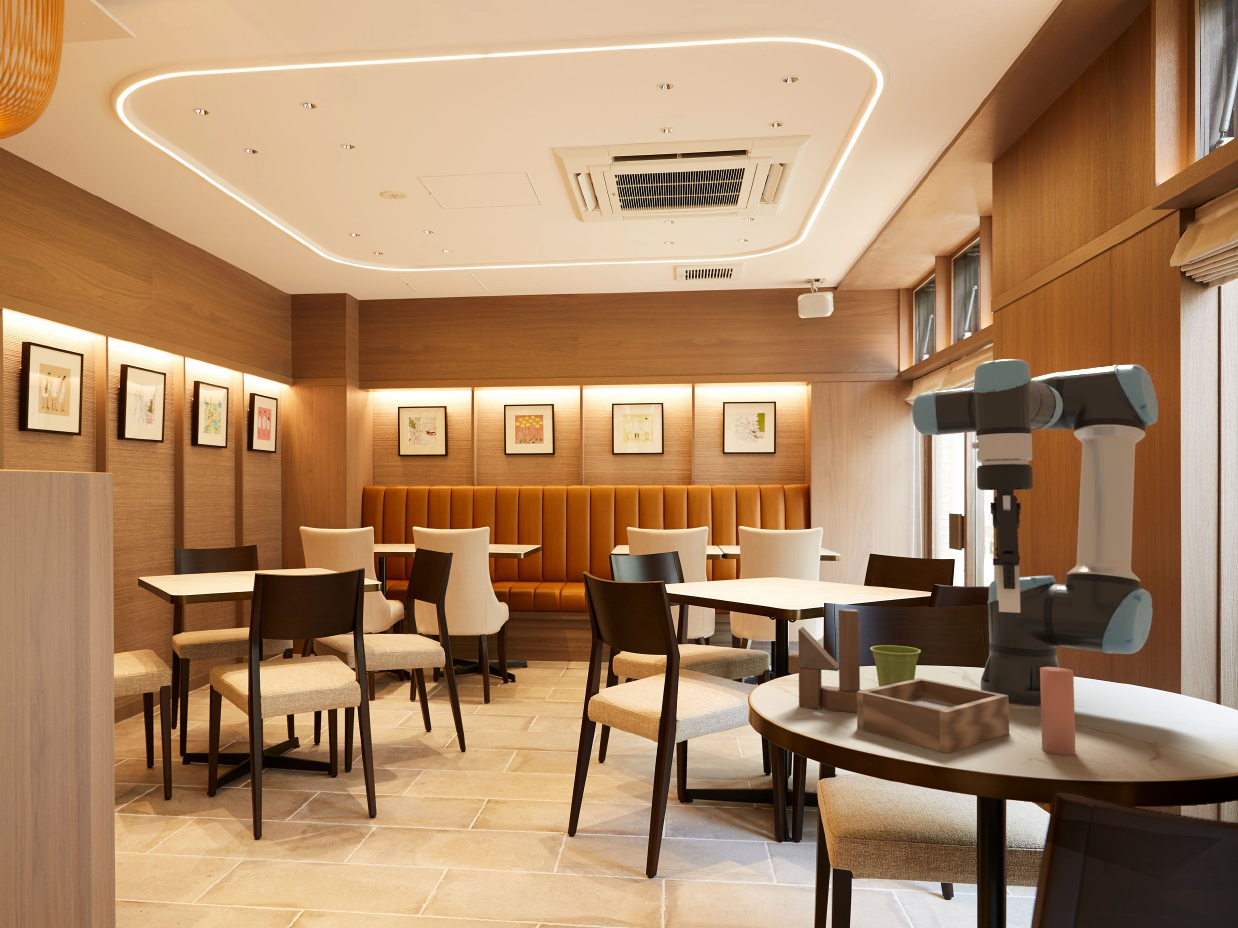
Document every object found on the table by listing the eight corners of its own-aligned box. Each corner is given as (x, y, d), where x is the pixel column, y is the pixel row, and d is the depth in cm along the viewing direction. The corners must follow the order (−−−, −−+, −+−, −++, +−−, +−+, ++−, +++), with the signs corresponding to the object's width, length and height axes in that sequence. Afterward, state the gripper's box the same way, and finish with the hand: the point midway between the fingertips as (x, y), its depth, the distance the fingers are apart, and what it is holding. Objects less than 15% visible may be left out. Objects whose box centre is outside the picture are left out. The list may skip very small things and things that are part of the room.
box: (920, 712, 140) (919, 677, 140) (1009, 733, 127) (1008, 695, 127) (857, 728, 129) (856, 691, 129) (947, 753, 116) (946, 712, 117)
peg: (1050, 744, 121) (1048, 665, 122) (1080, 751, 117) (1078, 670, 118) (1036, 749, 118) (1034, 669, 119) (1067, 756, 115) (1065, 674, 116)
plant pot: (860, 691, 156) (860, 646, 156) (894, 686, 160) (894, 643, 161) (896, 701, 148) (896, 654, 148) (932, 696, 152) (931, 650, 152)
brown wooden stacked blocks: (802, 703, 146) (801, 605, 147) (862, 709, 142) (861, 609, 143) (798, 707, 143) (797, 607, 144) (859, 714, 138) (858, 611, 139)
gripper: (976, 467, 131) (980, 595, 130) (976, 460, 108) (980, 615, 107) (1027, 466, 127) (1031, 597, 126) (1037, 459, 105) (1042, 619, 104)
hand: (1008, 606), depth 117 cm, fingers open, 13 cm apart
